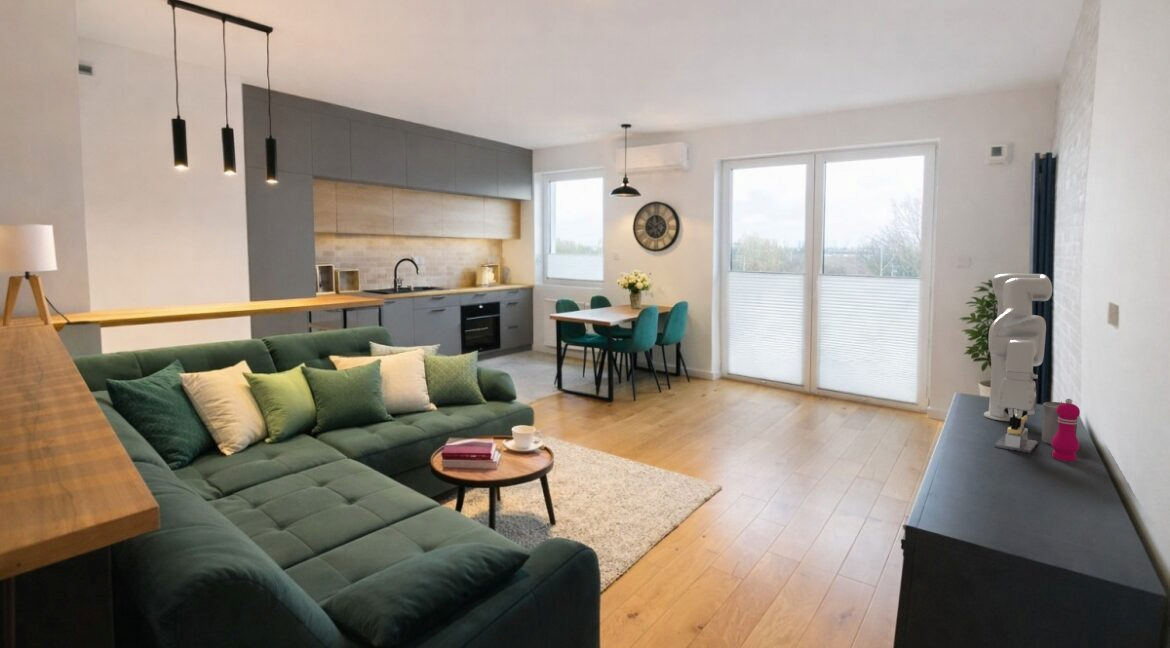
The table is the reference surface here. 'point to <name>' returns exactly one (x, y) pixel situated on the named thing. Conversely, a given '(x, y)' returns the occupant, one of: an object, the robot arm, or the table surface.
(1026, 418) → the knob
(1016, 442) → the mount plate
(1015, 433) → the knob
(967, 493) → the table surface
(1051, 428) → the pillar candle
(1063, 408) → the pepper mill
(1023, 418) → the knob
